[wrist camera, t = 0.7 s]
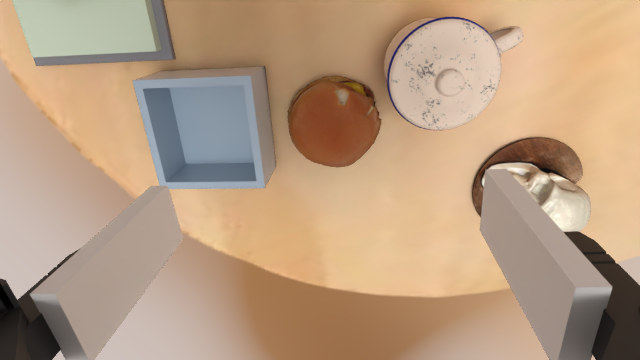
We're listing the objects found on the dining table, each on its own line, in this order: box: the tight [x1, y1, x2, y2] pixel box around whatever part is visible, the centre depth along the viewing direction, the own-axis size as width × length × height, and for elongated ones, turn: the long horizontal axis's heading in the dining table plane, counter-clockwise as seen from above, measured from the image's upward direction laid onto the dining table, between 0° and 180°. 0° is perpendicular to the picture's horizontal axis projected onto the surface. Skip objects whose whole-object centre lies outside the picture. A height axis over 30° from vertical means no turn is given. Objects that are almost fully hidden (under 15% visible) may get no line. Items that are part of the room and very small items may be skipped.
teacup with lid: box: [384, 17, 524, 130], centre depth 33 cm, size 12×9×12 cm
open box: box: [133, 66, 276, 189], centre depth 40 cm, size 12×12×6 cm
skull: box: [473, 138, 591, 232], centre depth 42 cm, size 12×10×10 cm
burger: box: [288, 76, 381, 167], centre depth 40 cm, size 10×9×5 cm
